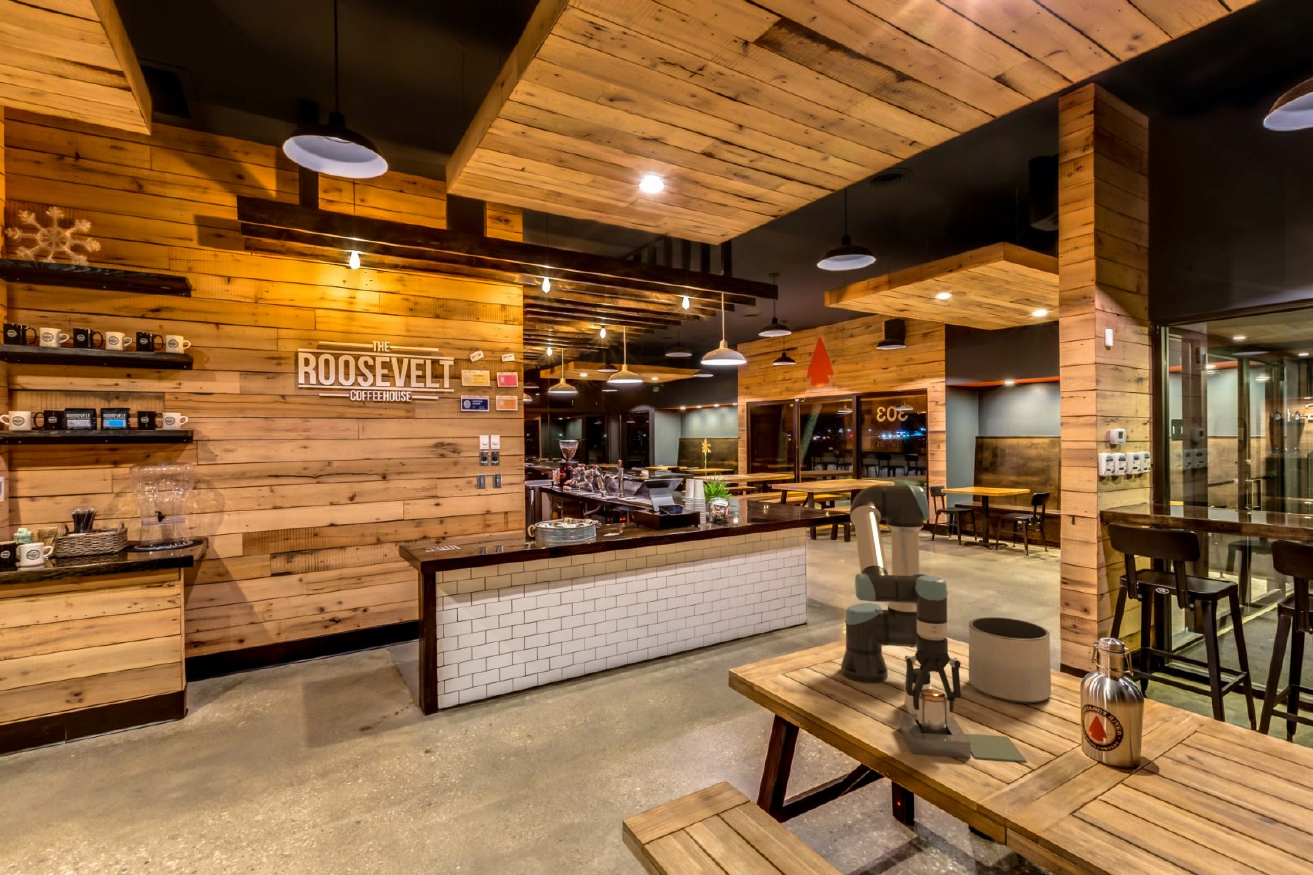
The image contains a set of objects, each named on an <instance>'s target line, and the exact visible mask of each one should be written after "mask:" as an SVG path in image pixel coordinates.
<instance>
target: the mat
mask: <svg viewBox="0 0 1313 875" xmlns="http://www.w3.org/2000/svg"><path fill="white" fill-rule="evenodd" d="M964 734H965V735H966V737H967V738H968V740H969V741H970V752H971V754H972V756H973V758H974V759H976V760H988V761H989V760H990V761H993V760H994V761H1002V762H1003V761H1004V762H1019V763H1028V760H1027V759H1026V758H1025V757H1024V756H1023V754H1022V753H1021V751H1020V750H1019V749H1018V747H1016V745H1015V744H1014V743H1013V741H1012V740H1011V739H1010V737H1008V736H1005V735H1004V736H1003V735H988V734H974V733H973V734H972V733H964Z"/></svg>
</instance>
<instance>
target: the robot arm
mask: <svg viewBox="0 0 1313 875" xmlns="http://www.w3.org/2000/svg"><path fill="white" fill-rule="evenodd" d="M849 517H850V521H851V523H852V524H853V525H854V531H855V538H856V546H857V552H858V553H857V554H858V560H859V562H858V563H859V568H860V573H858V574H856V575H855V578H854V581H855V582H854V585H855V586H854V589H855V596H856V598H857V599H858V600H859V601H862V602H863V601H865V602H863V603H855V604H853V605H851V606H849V607H848V608H847V609H846V611H845V620H844V623H845V652H844V655H843V658H842V661H841V663H840V664H841V665H840V672H841V674H842V675H843V676H844V677H846V678H848V679H849V680H853V681H854V682H855V681H856V682H861V683H881V682H884V681H886V680H888V675H889V673H888V672H889V671H888V667H887V664H886V662H885V658H884V656H883V650H882V649H883V648H882V646H886V647H887V646H888V647H889V646H890V647H907V648H913V649H914V648H916V652H915V654H914V655H912V656H909V655H905V656H904V660H905V663H906V669H905V670H906V673H905V674H906V675H905V681H906V688H905V687H904V691H905V690H906V692H907V694H908V695H909V696H913V706H914V708H915V710H917V719H918V721H919V723H920V724H923V707H922V698H921V696H920V693H921V690H922V687H923V684H924V681H925V678H926V676H927V674H928V672H930V673H931V672H936V673H938V675H939V677H940V680H941V683H942V686H943V689H944V693H945V707H946V725H950V716H951V715H950V712H951V713H954V702H955V701H956V700H955V699H961V697H962V691H961V677H960V668H961V664H962V662H960V660H959V659H958V658H957V657H954V658H953V657H950V656H949V646H948V642H949V641H948V638H947V637H948V588H947V582H946V580H945V579H944V578H942V577H940V576H936V575H927V574H926V573H923V572H920V535H919V534H920V531H921V530H922V528H923V527H924V522H926V521H927V522H928V521H929V519H930V508H929V502H928V497H927V495H926V492H925V489H923V487H922V486H919V485H909V484H905V485H904V484H902V485H901V484H900V485H899V484H898V485H897V484H896V485H895V484H894V485H893V484H892V485H891V484H890V485H879V484H878V485H877V484H876V485H875V484H874V485H871V486H868V487H865V488H864V489H863V490H861V491H860V492H858V493H857V495H856V496H855V497H854V499H853V500H852V503H851V505H850V510H849ZM881 521H885V522H886V526H887V527H888V528H889V529H890V531H891V532H890V533H891V534H890V536H891V574H889V572H888V566H887V559H886V555H885V550H884V544H883V538H882V533H881V527H880V522H881ZM866 602H867V603H866ZM875 602H878V603H879V602H882V603H886V602H887V609H882V607H881V605H880V604H877V603H875ZM916 661H917V662H918V663H919V665H920V666H919V673H918V676H917V680H916V683H915V686H914V689H913V671H914V666H915V665H916ZM948 664H949V665H950V666H951V667H950V669H951V679H952V688H951V686H950V683H949V680H948V678H947V673H946V671H945V668H946V666H947V665H948ZM912 689H913V690H912ZM952 690H953V691H952Z"/></svg>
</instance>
